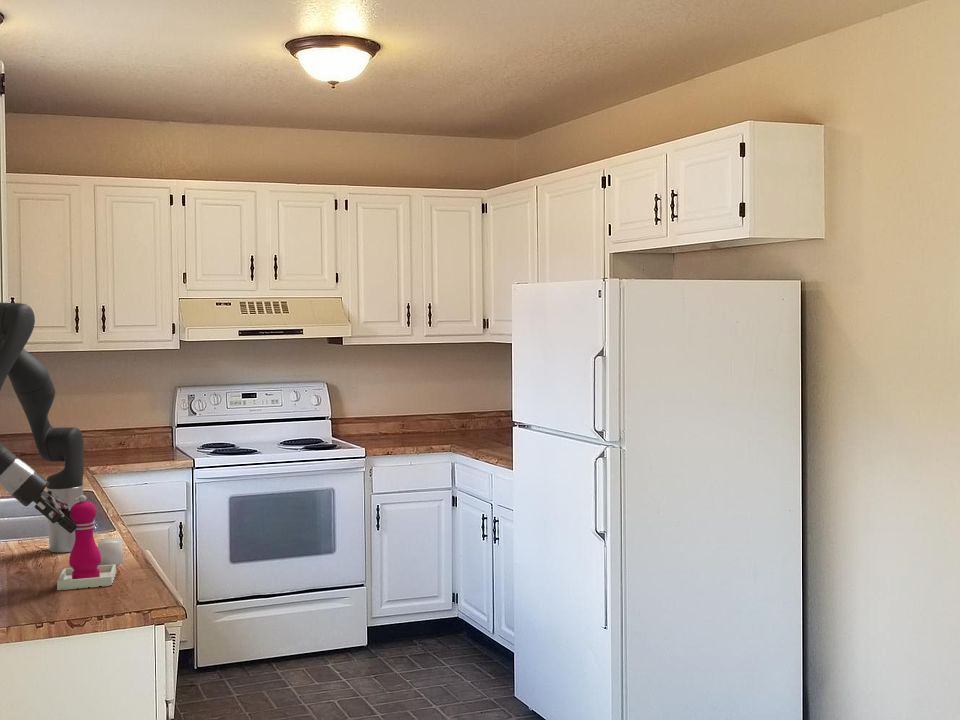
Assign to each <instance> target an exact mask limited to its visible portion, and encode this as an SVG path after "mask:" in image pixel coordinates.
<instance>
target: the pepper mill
mask: <svg viewBox="0 0 960 720" xmlns="http://www.w3.org/2000/svg"><path fill="white" fill-rule="evenodd" d="M79 501H80V502H78V503H76V504H74V505H73V506H72V507H71V509H70V517H71V519H72V520H73V521H74V523H75V524H76V525H77V528H76V529H75V543H74V546H73V549H72V551H71V552H70V555H69V558H68V559H69V562H68V563H69V565H70V566H69V567H70V568H73V569H74V571H73V572H72V579H84V578H96V577H100V570H99V569H98V568H97V567H98V566H99V564H100V563H101V554H100V551H99V549H98V544H96V542H95V537H94V528H95V527H96V525H95V523H96V522H95V520H94V519H95V518H96V517H97V508H96V506H95V504H94V503H92V502H90V501H87V496H86V495H85V494H83V495H81V496H80V497H79Z"/></svg>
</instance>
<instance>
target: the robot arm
mask: <svg viewBox="0 0 960 720" xmlns="http://www.w3.org/2000/svg"><path fill="white" fill-rule="evenodd" d="M35 323H36V318H35V314H34V311H33V309H32V307H31V306H30V305H29V304H27V303H21V302H1V301H0V391H1V390H2V388H3V385H4V382H5V380H6V379H7V377H8V379H9V380H10V383H11V386H12V389H13V391H14V392H15V395H16V398H17V399H18V401H19V404H20V405H21V408H22V409H23V411H24V414H25V416H26V419H27V421H28V424H29V427H30V430H31V433H32V436H33V439H34V444H35V445H36V446H35V447H36V449H37V452H38V454H39V456H40V457H41V458H42V460H44V461H46V462H51V463H52V462H53V463H54V462H56V463H57V462H59V463H61V462H62V463H63V462H64V467H63V469H62V470H60V471H59V472H57V473H55V474H54V473H53V474H52V475H49V476H48V477H47V478H45V477H43V476H42V475H41V474H40V473H38V472H37V471H36V470H35V469H34V468H32V466H30V465H29V464H27V463H26V462H25V461H23V460H22V459H20V458H19V457H17V456H16V454H14V453H13V452H11V451H10V449H8V448H6V447H5V446H4V445H3V444H2V443H1V442H0V487H1V488H2V489H4V491H5V492H7V493H8V494H9V495H11V496H12V497H13V498H14V499H15V500H17V501H18V502H19V503H20V504H21V505H22V506H24V507H28V506H30V504H31V503H32V502H34V503H35V505H34V508H35V510H37V511H38V512H40V513H41V514H42V516H44V517H45V518H46V519H47V524H48V525H47V526H48V547H49V549H48V550H49V552H51V553H71V551H72V549H73V546H74V543H75V529H76V528H77V525H76V524H75V523H74V521H73V520H72V519H71V517H70V509H71V507H72V506H73V505H74V504H76V503H78V502H80V501H79V497H80V496H81V495H84V486H83V485H84V484H83V483H84V481H83V479H84V474H85V473H84V471H85V468H84V463H85V461H84V454H85V445H84V444H85V442H84V437H83V433H82V431H81V429H80V428H78V427H70V426H69V427H67V426H66V427H65V426H64V427H53V425H51V423H50V420H49V417H48V415H49V412H50V410H51V407H52V405H53V403H54V400H55V397H56V389H55V385H54V383H53V380H52V378H51V376H50V374H49V371H48V369H47V368H46V366H45V365H43V363H42V362H41V361H39V360H38V359H37V358H36V357H35V356H33V355H32V354H31V353H30V352H28V351H27V350H26V349H25V346H26V345H27V343H28V341H29V339H30V338H31V336H32V333H33V330H34V328H35ZM45 489H46V491H45Z"/></svg>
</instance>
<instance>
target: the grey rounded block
mask: <svg viewBox="0 0 960 720" xmlns="http://www.w3.org/2000/svg"><path fill="white" fill-rule="evenodd" d="M97 547H98V549H99V551H100V554H101V563H100V564H99V565H98V566H101V565H113V564H116V565H120V564H122V563H123V564H124V541H123V538H104V539H100V540H98V541H97ZM123 564H122V565H123ZM120 566H121V565H120Z"/></svg>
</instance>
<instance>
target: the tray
mask: <svg viewBox="0 0 960 720" xmlns="http://www.w3.org/2000/svg"><path fill="white" fill-rule="evenodd" d="M97 568H98V569H99V570H100V577H96V578H84V579H72V572H73V571H74V569H73V568H72V567H66V568H63V569H62V570H61V571H62V572H61V573H60V575H59V577H58V579H57V580H56V587H57V588H56V591H63V590H64V591H65V590H66V591H67V590H75V589H77V588H78V589H87V588H88V587H90V588H99V586H102V587H111V586H110V585H112V586H113V584H114V581H115V578H116V575H117V566H116V564H113V565H101V566H99V565H98V567H97ZM115 574H116V575H115ZM114 577H115V578H114ZM113 580H114V581H113ZM112 583H113V584H112ZM78 589H77V590H78ZM88 589H89V588H88Z"/></svg>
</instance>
